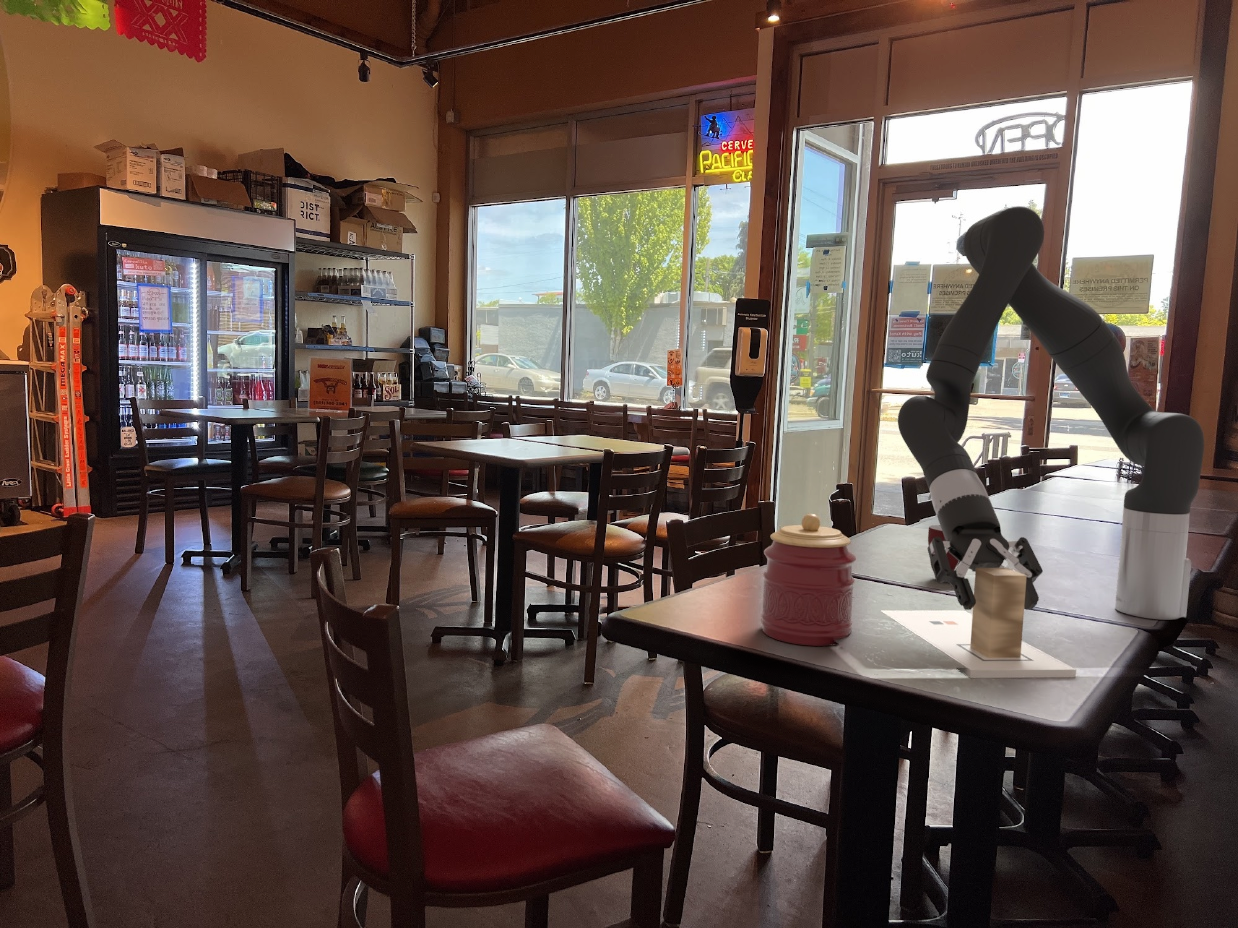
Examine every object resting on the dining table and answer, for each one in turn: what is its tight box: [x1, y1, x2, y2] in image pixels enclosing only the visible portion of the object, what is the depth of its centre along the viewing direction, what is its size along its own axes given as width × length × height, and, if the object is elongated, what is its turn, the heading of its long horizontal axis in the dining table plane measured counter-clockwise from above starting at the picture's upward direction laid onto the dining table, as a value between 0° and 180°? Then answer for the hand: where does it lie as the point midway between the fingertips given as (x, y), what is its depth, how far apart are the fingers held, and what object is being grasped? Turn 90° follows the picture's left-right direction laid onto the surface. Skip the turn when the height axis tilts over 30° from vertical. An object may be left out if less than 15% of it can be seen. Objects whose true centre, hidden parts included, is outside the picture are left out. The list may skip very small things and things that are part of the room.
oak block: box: [970, 568, 1027, 658], centre depth 113 cm, size 4×4×11 cm
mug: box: [927, 524, 959, 583], centre depth 161 cm, size 10×8×10 cm
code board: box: [879, 609, 1077, 679], centre depth 120 cm, size 14×28×1 cm, turn 6°
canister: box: [760, 513, 857, 647], centre depth 122 cm, size 13×13×18 cm
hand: (1001, 606), depth 112 cm, fingers open, 8 cm apart
